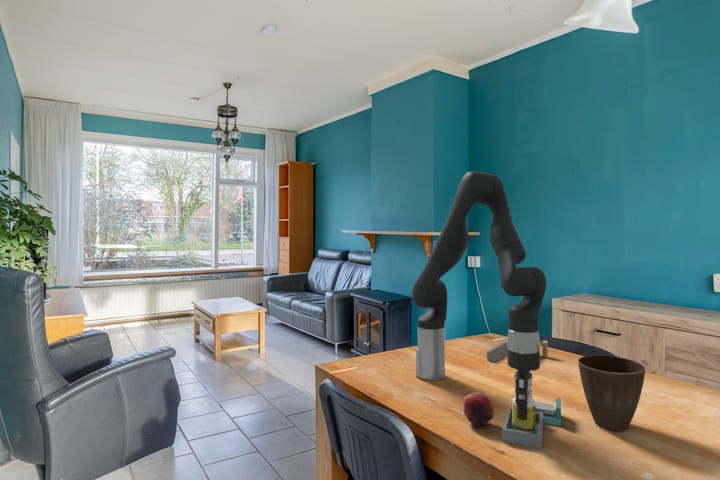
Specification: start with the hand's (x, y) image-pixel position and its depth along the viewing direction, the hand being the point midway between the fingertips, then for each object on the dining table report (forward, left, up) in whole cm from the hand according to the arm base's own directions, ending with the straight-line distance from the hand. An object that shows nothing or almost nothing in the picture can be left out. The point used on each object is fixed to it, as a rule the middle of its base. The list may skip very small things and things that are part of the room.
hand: (523, 412), depth 107 cm
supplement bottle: (0, 0, -4) cm, 4 cm away
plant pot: (+20, +13, -5) cm, 24 cm away
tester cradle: (+4, +11, -5) cm, 13 cm away
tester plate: (+4, +11, -3) cm, 12 cm away
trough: (0, 0, -5) cm, 5 cm away
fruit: (-11, 0, -5) cm, 12 cm away
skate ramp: (-2, +62, -6) cm, 62 cm away
